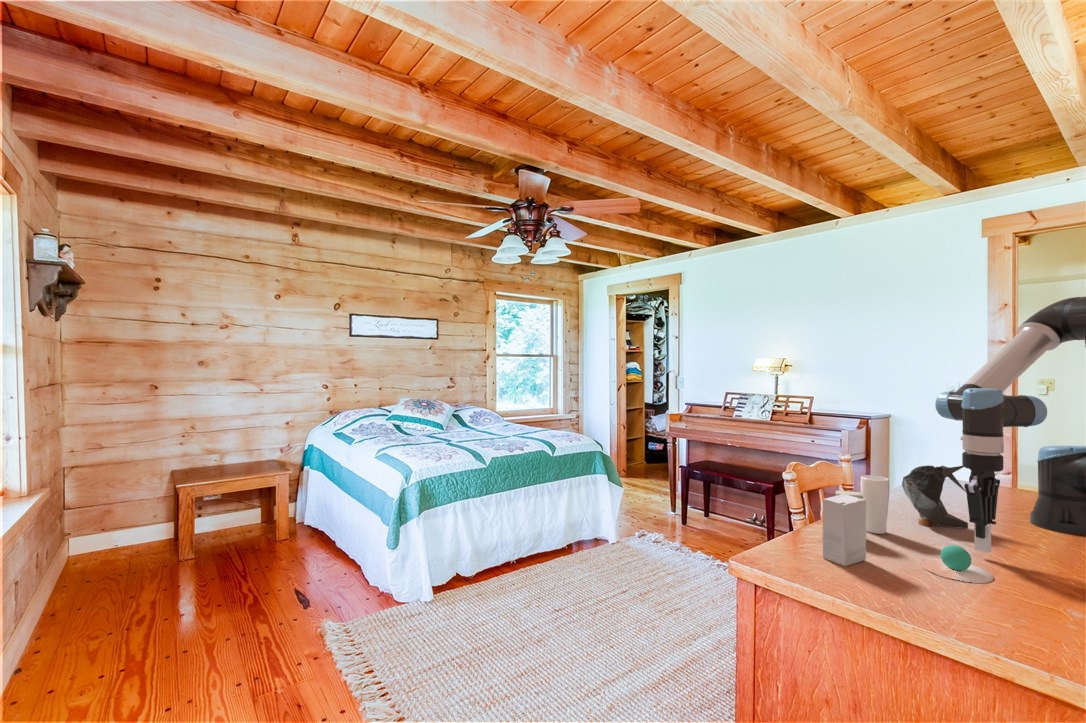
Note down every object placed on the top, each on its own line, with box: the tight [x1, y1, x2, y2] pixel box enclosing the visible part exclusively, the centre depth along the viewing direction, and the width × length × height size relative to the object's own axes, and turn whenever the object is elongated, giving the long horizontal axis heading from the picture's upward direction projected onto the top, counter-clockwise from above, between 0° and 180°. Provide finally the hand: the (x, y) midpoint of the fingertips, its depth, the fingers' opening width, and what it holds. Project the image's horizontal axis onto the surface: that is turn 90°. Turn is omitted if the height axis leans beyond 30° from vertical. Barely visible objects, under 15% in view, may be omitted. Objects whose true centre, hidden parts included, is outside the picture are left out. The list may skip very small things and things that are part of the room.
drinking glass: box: [860, 474, 890, 535], centre depth 143 cm, size 7×7×15 cm
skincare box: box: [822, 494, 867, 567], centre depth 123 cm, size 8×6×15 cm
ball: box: [940, 544, 972, 571], centre depth 117 cm, size 6×6×6 cm
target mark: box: [946, 564, 994, 584], centre depth 116 cm, size 13×13×1 cm
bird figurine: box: [901, 465, 969, 529], centre depth 149 cm, size 14×15×18 cm
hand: (982, 550), depth 123 cm, fingers closed
